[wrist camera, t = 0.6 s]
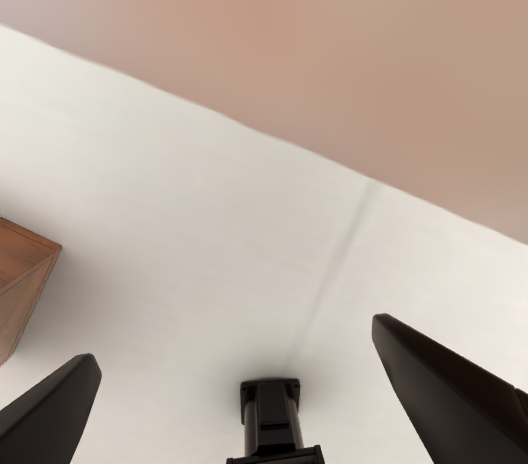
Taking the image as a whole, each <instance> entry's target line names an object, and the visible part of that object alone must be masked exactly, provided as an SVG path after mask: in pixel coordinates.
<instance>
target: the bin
mask: <svg viewBox="0 0 528 464" xmlns="http://www.w3.org/2000/svg"><path fill="white" fill-rule="evenodd" d="M61 248H62V246H60V245H58V244H56V243H54V242H52V241H49V240H47V239H45V238H43V237H41V236H39V235H37V234H35V233H33V232H30V231H28V230H26V229H24V228H22V227H20V226H18V225H16V224H14V223H11V222H9V221H7V220H5V219H3V218H1V217H0V367H1V366H2V365H3V364H4V363H5V362H6V361H7V360H8V359H9V358H10V357H11V356H12V355H13V352H14V350H15V348H16V346H17V344H18V342H19V339H20V337H21V335H22V333H23V331H24V329H25V326H26V324H27V322H28V320H29V318H30V315H31V313H32V311H33V309H34V307H35V305H36V302H37V300H38V298H39V296H40V294H41V292H42V289H43V287H44V285H45V283H46V281H47V279H48V276H49V274H50V272H51V270H52V268H53V266H54V263H55V261H56V259H57V257H58V255H59V253H60V250H61Z"/></svg>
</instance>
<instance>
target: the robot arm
mask: <svg viewBox="0 0 528 464" xmlns="http://www.w3.org/2000/svg"><path fill="white" fill-rule="evenodd" d="M372 340H373V343H374V345H375V347H376V350H377V352H378V354H379V357H380V359H381V361H382V364H383V366H384V368H385V371H386V373H387V376H388V378H389V380H390V382H391V385H392V387H393V389H394V391H395V393H396V395H397V397H398V399H399V401H400V402H401V404H402V406H403V408H404V410H405V411H406V413H407V415H408V417H409V419H410V421H411V422H412V424H413V426H414V428H415V430H416V432H417V433H418V435H419V437H420V439H421V441H422V442H423V444H424V446H425V448H426V450H427V452H428V453H429V455H430V457H431V459H432V461H433V462H434V464H528V394H527V393H525V392H524V391H522V390H520V389H518V388H515V387H514V386H513V385H511V384H509V383H508V382H506V381H504V380H502V379H501V378H499V377H497V376H495V375H494V374H492V373H490V372H488V371H487V370H485V369H483V368H481V367H480V366H478V365H476V364H474V363H473V362H471V361H469V360H467V359H466V358H464V357H462V356H460V355H459V354H457V353H455V352H453V351H452V350H450V349H448V348H446V347H445V346H443V345H441V344H439V343H438V342H436V341H434V340H432V339H431V338H429V337H427V336H425V335H424V334H422V333H420V332H418V331H417V330H415V329H413V328H411V327H410V326H408V325H406V324H404V323H403V322H401V321H399V320H397V319H396V318H394V317H392V316H391V315H389V314H386V313H383V314H376V315H374V316H373V320H372ZM101 377H102V374H101V370H100V368H99V366H98V363H97V361H96V359H95V357H94V355H93V354H90V353H88V354H80V355H77V356H75V357H74V358H72V359H71V360H69V361H68V362H67V363H65V364H64V365H63V366H61V367H60V368H58V369H57V370H56V371H54V372H53V373H52V374H50V375H49V376H47V377H46V378H45V379H43V380H42V381H41V382H39V383H38V384H36V385H35V386H34V387H32V388H31V389H30V390H28V391H27V392H25V393H24V394H23V395H21V396H20V397H19V398H17V399H16V400H14V401H13V402H12V403H10V404H9V405H8V406H6V407H5V408H3V409H2V410H1V411H0V464H70V462H71V460H72V457H73V455H74V453H75V450H76V448H77V446H78V444H79V441H80V439H81V436H82V434H83V431H84V428H85V426H86V423H87V420H88V417H89V414H90V411H91V408H92V405H93V402H94V399H95V396H96V393H97V390H98V387H99V384H100V382H101ZM240 396H241V422H242V424H243V425H245V457H241V458H235V459H233V458H227V461H226V464H325V462H324V458H323V455H322V451H321V448H320V445H314V447H308V448H304V445H303V439H302V434H301V429H300V423H299V418H298V408H299V396H300V382H299V380H279V381H262V382H245V383H242V384H241V385H240Z"/></svg>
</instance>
